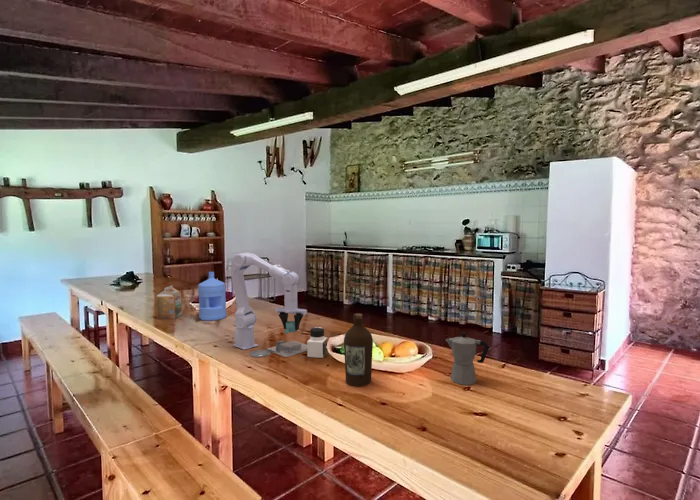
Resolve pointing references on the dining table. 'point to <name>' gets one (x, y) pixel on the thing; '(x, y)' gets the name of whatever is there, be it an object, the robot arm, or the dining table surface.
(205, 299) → the water jug
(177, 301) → the milk carton
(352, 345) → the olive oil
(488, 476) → the dining table surface
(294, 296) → the robot arm
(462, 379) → the coffeepot
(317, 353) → the medicine bottle
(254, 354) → the coaster
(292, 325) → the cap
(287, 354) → the post base
